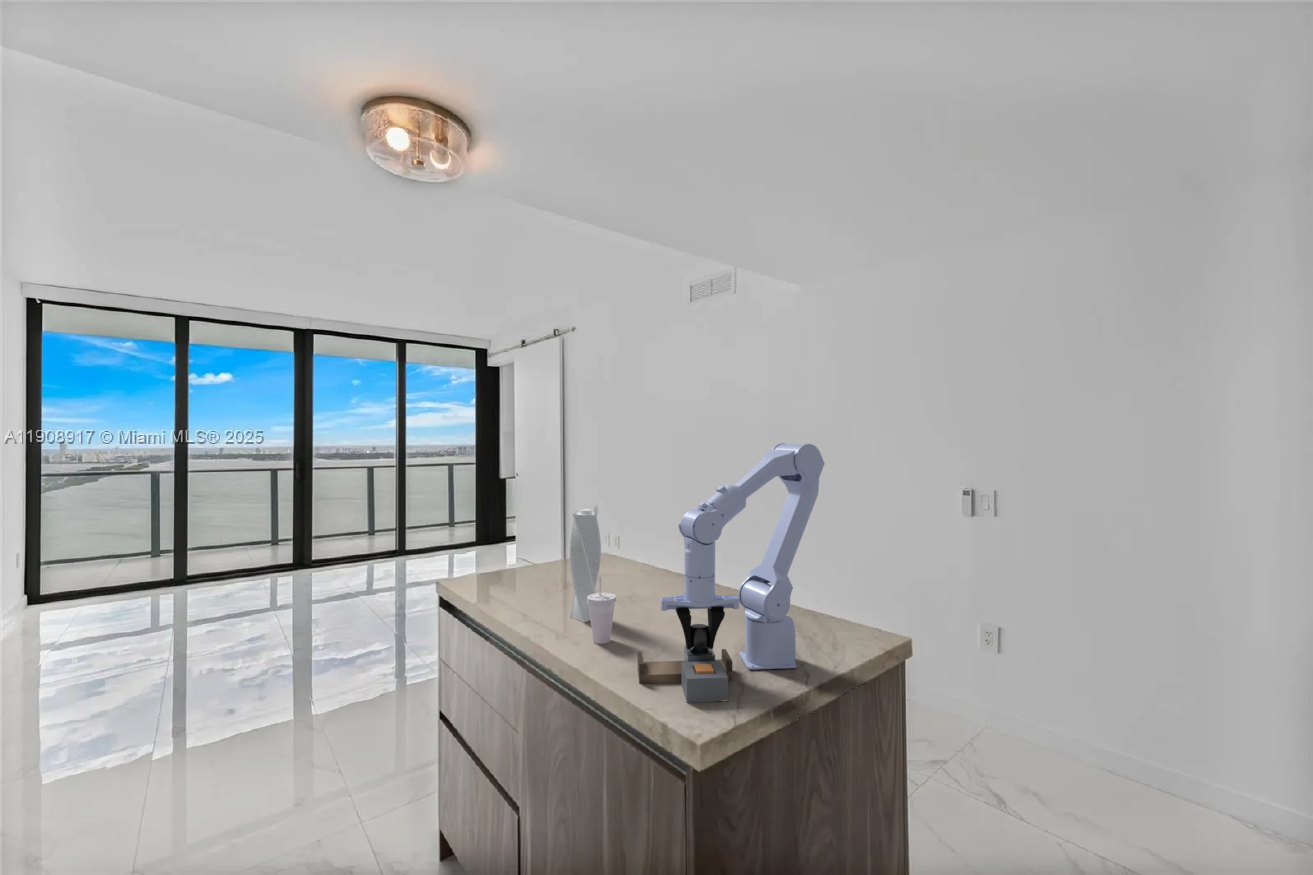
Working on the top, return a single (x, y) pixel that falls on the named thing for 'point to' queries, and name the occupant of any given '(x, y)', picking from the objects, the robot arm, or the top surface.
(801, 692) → the top surface
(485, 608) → the top surface
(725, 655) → the rail
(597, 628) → the smoothie
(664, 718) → the top surface
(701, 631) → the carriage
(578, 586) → the skyscraper
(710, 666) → the button
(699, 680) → the block
